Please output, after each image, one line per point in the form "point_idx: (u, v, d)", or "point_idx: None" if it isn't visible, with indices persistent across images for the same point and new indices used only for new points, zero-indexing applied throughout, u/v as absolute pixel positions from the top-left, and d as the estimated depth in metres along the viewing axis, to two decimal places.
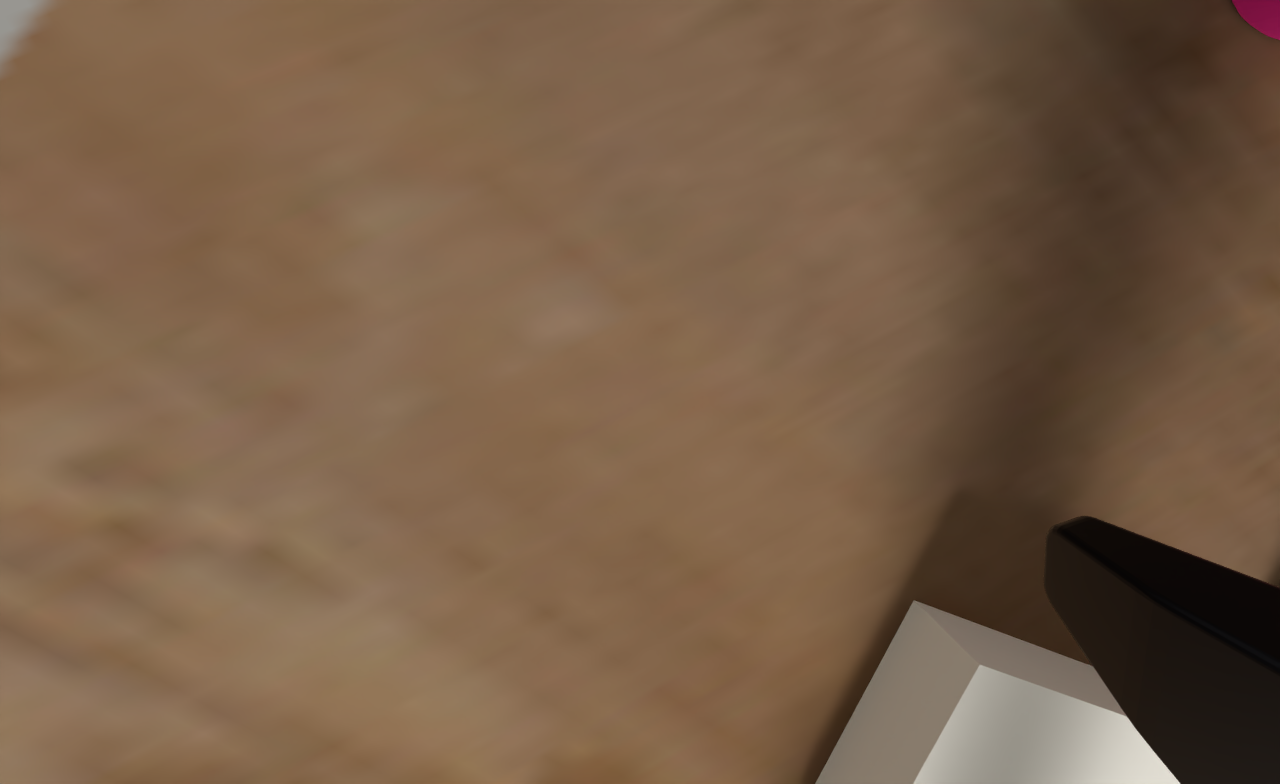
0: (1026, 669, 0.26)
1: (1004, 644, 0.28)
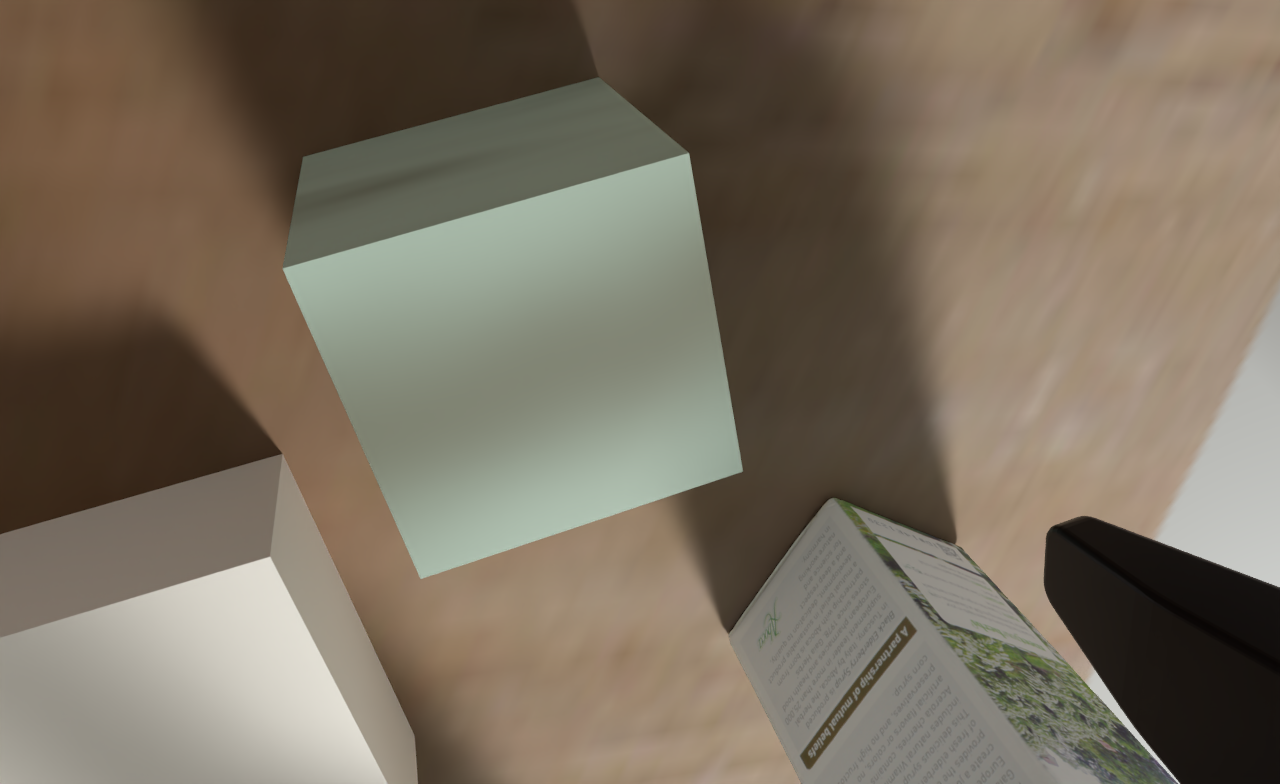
0: None
1: None
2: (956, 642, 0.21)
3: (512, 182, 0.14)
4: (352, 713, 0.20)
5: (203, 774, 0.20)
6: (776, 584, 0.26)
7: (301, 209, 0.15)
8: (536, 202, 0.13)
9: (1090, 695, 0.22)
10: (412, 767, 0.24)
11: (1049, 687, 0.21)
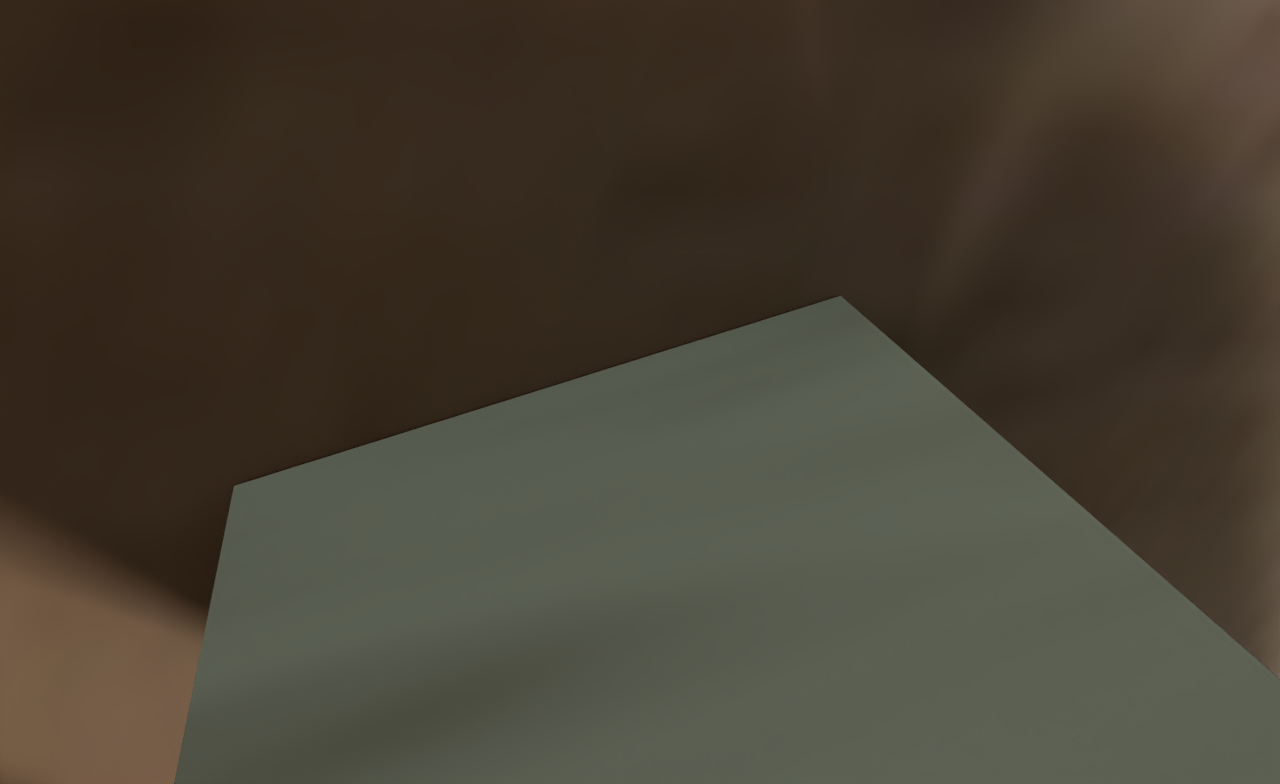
0: None
1: None
2: None
3: None
4: None
5: None
6: None
7: None
8: None
9: None
10: None
11: None
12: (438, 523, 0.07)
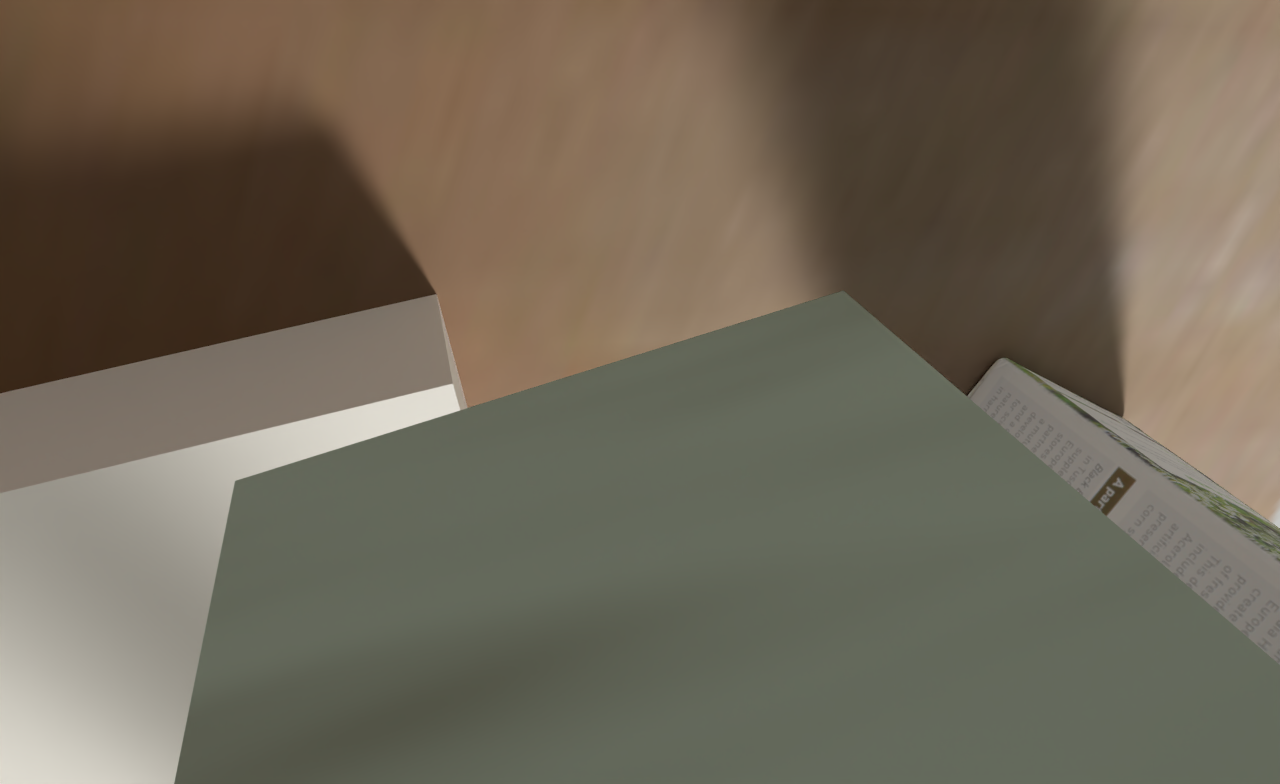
0: None
1: (36, 411, 0.16)
2: (1188, 488, 0.18)
3: None
4: None
5: None
6: None
7: None
8: None
9: None
10: None
11: None
12: (440, 517, 0.07)
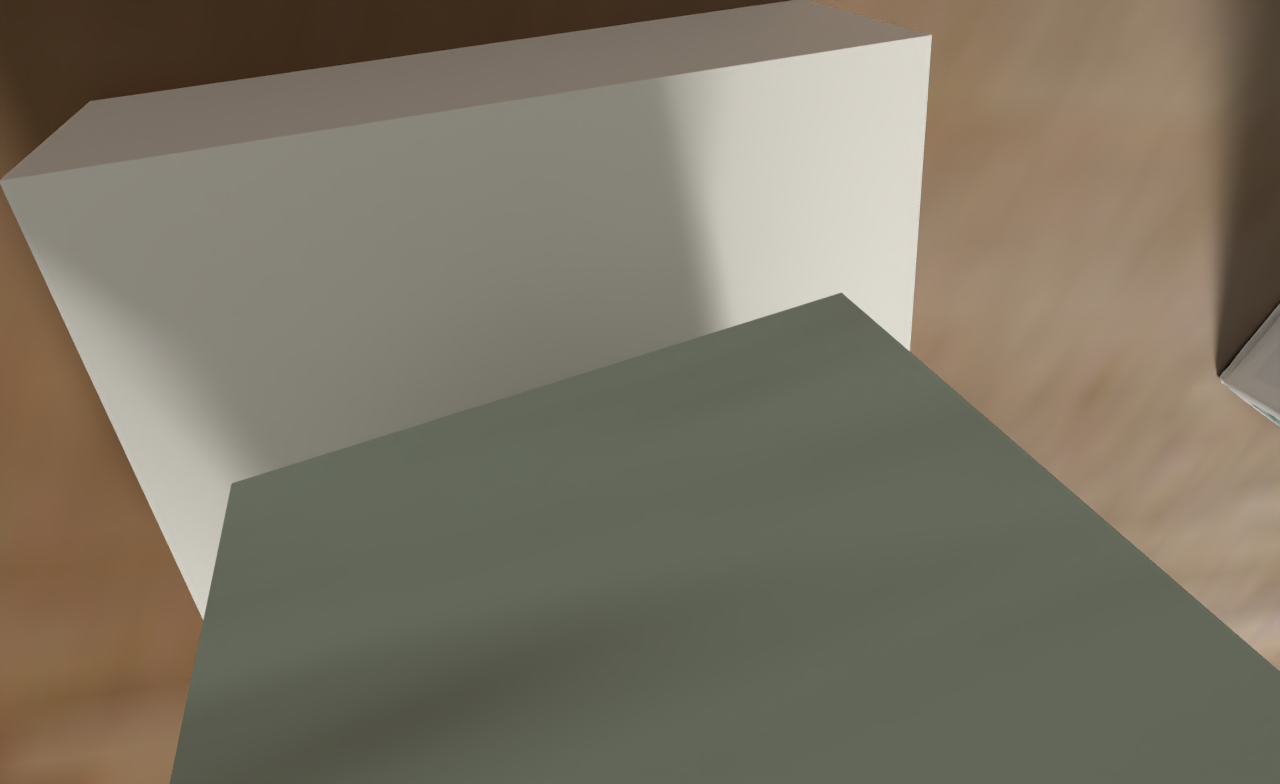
0: (265, 118, 0.10)
1: (305, 85, 0.11)
2: None
3: None
4: None
5: None
6: None
7: None
8: None
9: None
10: None
11: None
12: (437, 520, 0.07)
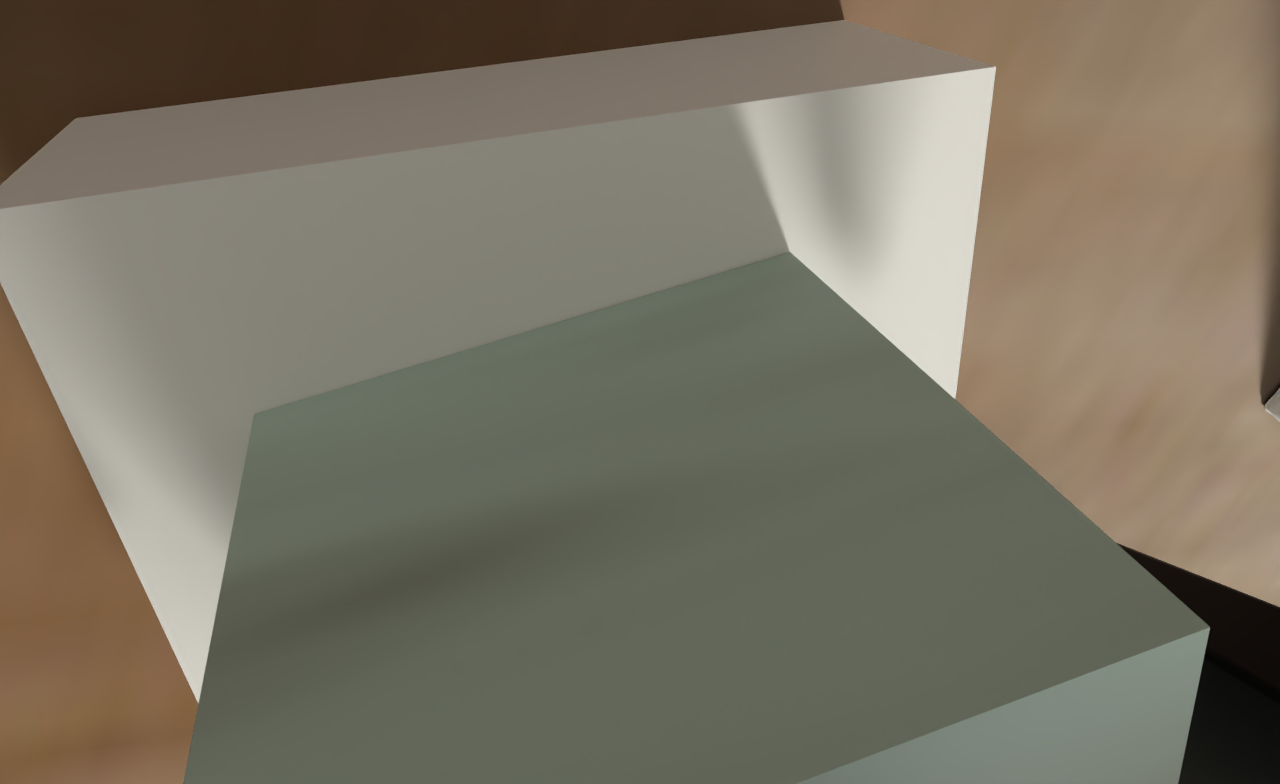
0: (267, 145, 0.09)
1: (311, 106, 0.11)
2: None
3: (730, 657, 0.06)
4: None
5: None
6: None
7: (226, 651, 0.07)
8: (826, 782, 0.05)
9: None
10: None
11: None
12: (432, 438, 0.08)
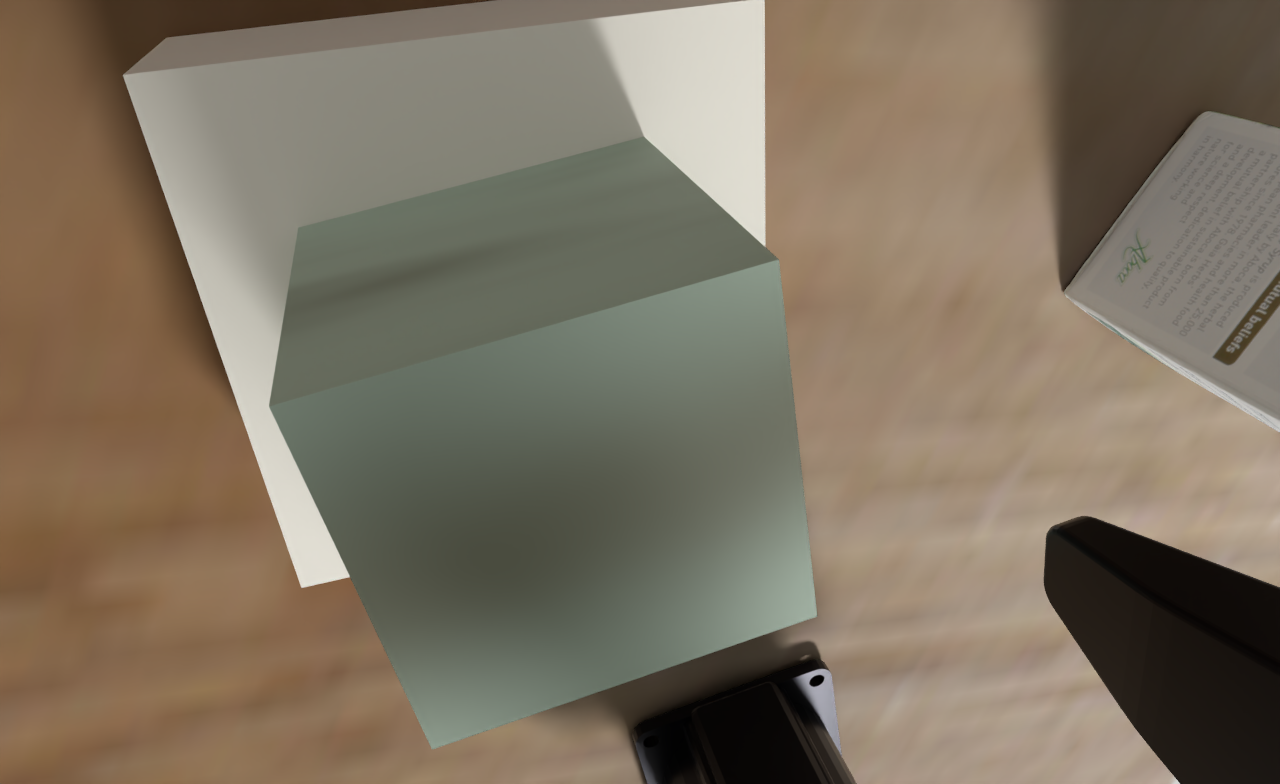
0: (297, 44, 0.15)
1: (324, 27, 0.16)
2: None
3: (556, 287, 0.11)
4: None
5: None
6: (1134, 217, 0.23)
7: (294, 310, 0.12)
8: (589, 321, 0.10)
9: None
10: None
11: None
12: (409, 229, 0.14)
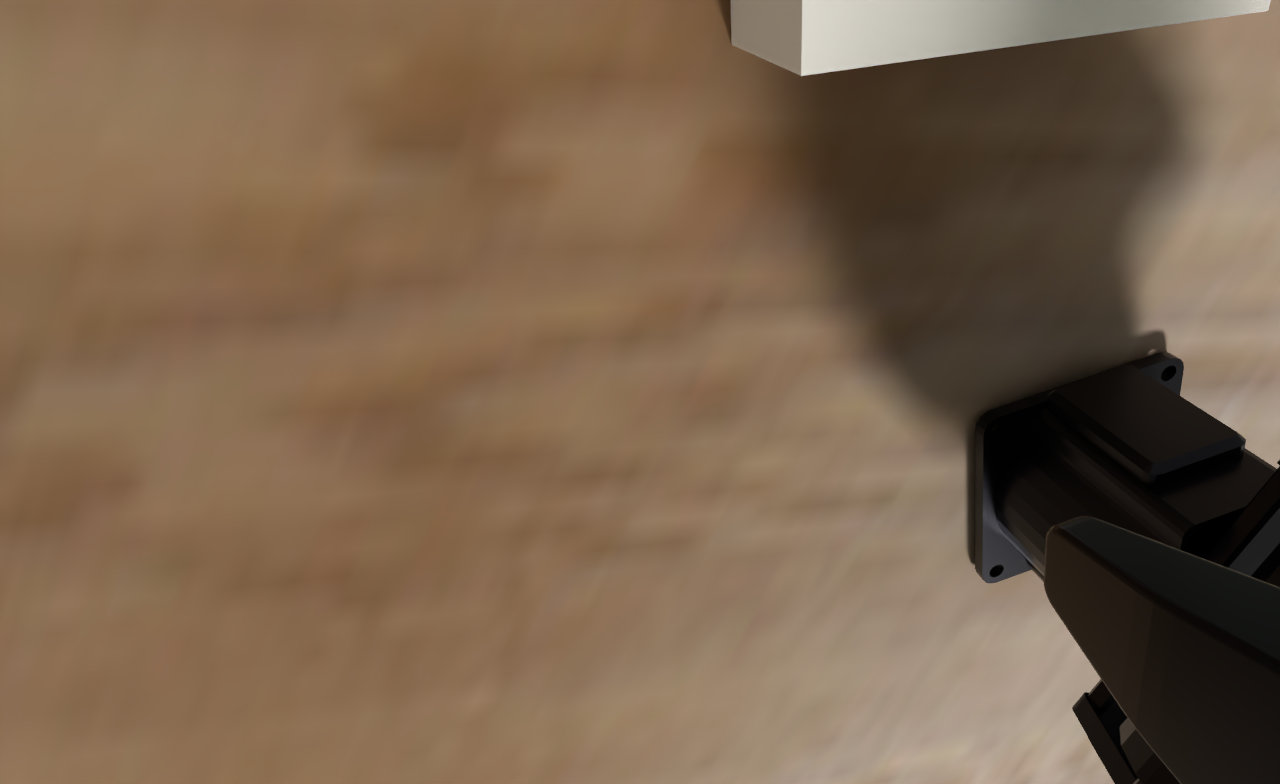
0: None
1: None
2: None
3: None
4: None
5: None
6: None
7: None
8: None
9: None
10: None
11: None
12: None
